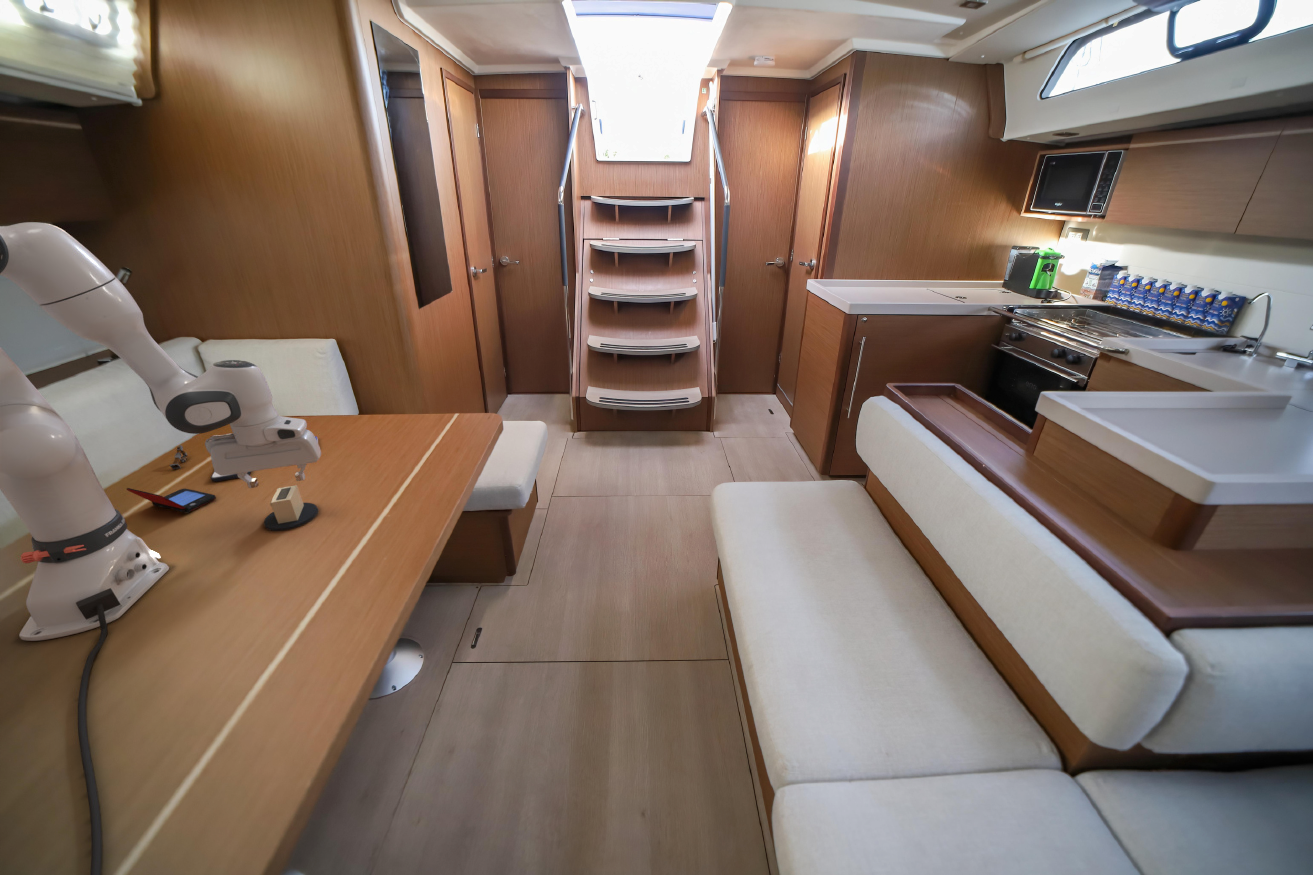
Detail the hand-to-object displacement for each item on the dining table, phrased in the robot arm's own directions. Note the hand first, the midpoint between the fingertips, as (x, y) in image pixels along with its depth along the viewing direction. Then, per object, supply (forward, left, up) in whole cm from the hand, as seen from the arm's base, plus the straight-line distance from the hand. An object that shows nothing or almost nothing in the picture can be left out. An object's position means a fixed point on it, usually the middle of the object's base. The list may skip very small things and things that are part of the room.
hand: (278, 483), depth 118 cm
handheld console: (+16, +28, -10) cm, 34 cm away
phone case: (+35, +21, -10) cm, 42 cm away
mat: (0, 0, -10) cm, 10 cm away
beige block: (0, 0, -9) cm, 9 cm away
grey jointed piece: (+43, +37, -10) cm, 58 cm away
